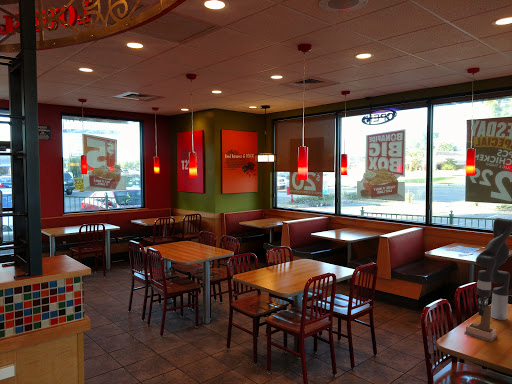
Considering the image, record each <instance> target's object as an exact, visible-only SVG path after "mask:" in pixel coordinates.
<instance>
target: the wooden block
mask: <svg viewBox="0 0 512 384" xmlns="http://www.w3.org/2000/svg"><path fill="white" fill-rule="evenodd" d="M491 307H492V305H485V307H484V309H483V316H480V322H479V323H474V322H473V323H474V324H473V325H472V327H473V328H476V329H479V330H483V331H486V332H490V328H491V327H490V326H491V318H492V317H491Z"/></svg>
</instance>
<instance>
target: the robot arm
mask: <svg viewBox="0 0 512 384" xmlns="http://www.w3.org/2000/svg"><path fill="white" fill-rule="evenodd" d="M492 229H493V231H492V232H493V239H491V240H490V241H489V242H488V243H487V244H486V247H484V249H483V250H482V252H480V253H479V254H477V256H476V259H475V263H476V265H477V266H479V267H481V268H486V270H484V269H483V270H482V269H481V270H478V275H477V283H476V295H478V296H479V297H478V299H477V309H478V316H480V317H481V316H483V309H484V307H485V305H488V303H489V297H492V298H491V317H490V318H493V319H495V320H500V321H506V320H507V314H508V303H509V302H508V301H509V287H510V280H511V274H510V272H509V271H503V270H499V268H501V266H502V265H503V264H505V263H506V262H507V261H508V259H509V256H510V248H509V246H508V243H507V242H506V241H507V240H508V239H509V237H510V236H511V235H512V220H511V219H507V218H501V217H496V218H494V220H493V223H492ZM492 283H493V284H495V285H496V284H497V285H502V286H498V287H497V286H496V287H494V288H493V289H492ZM491 291H492V292H491ZM491 293H492V294H491ZM491 295H492V296H491ZM488 306H489V305H488Z"/></svg>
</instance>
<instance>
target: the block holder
mask: <svg viewBox="0 0 512 384" xmlns="http://www.w3.org/2000/svg"><path fill="white" fill-rule="evenodd" d="M473 324H474V322H469V323H467V325H466V326H465V331H464V335H468V336H470V337H474V338H477V339H480V340H483V341H488V342H491V343H493V341H494V340H495V339H496V338H497V336H498V334H497V329H495V328H492V327H490V332H486V331H483V330H479V329H476V328H473V327H472V325H473Z"/></svg>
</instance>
